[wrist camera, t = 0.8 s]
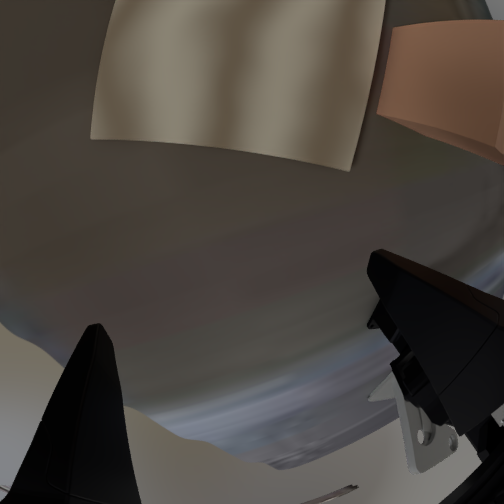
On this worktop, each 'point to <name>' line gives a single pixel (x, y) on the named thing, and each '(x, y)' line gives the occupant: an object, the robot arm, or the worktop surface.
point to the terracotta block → (449, 83)
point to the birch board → (240, 75)
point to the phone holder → (411, 422)
